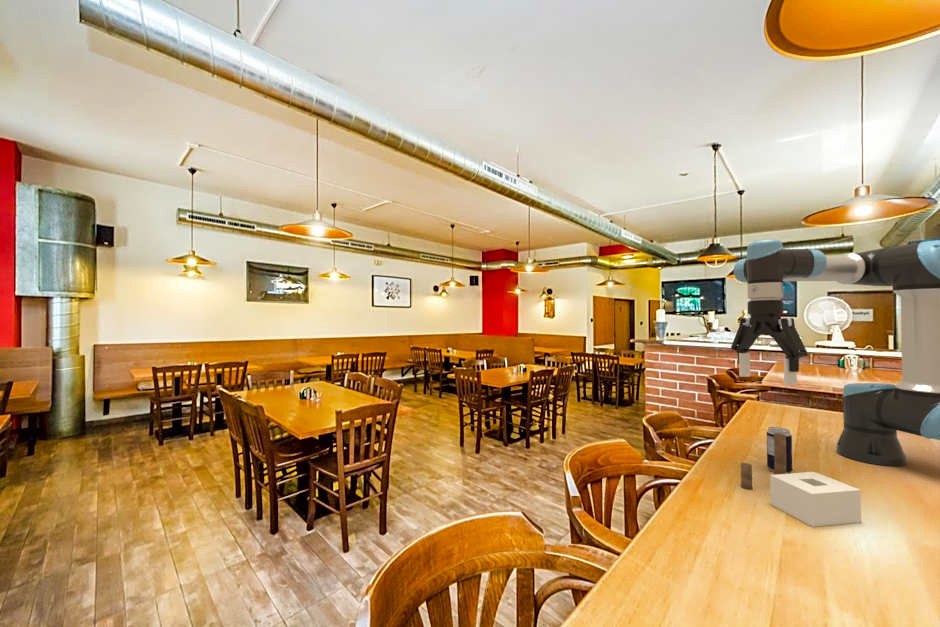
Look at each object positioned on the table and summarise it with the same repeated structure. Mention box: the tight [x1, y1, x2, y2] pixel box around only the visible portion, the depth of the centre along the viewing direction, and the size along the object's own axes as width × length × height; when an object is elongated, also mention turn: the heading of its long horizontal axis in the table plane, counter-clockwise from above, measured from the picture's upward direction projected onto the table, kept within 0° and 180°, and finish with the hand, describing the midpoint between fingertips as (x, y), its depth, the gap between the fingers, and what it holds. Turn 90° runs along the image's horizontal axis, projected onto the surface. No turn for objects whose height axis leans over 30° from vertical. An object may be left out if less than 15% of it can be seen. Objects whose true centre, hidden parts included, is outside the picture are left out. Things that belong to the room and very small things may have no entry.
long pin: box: [774, 433, 786, 475], centre depth 101 cm, size 2×2×14 cm
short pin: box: [740, 462, 753, 490], centre depth 102 cm, size 2×2×6 cm
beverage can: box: [766, 426, 793, 474], centre depth 112 cm, size 6×6×12 cm
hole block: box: [769, 471, 862, 528], centre depth 89 cm, size 12×10×7 cm
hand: (766, 380), depth 103 cm, fingers open, 13 cm apart
